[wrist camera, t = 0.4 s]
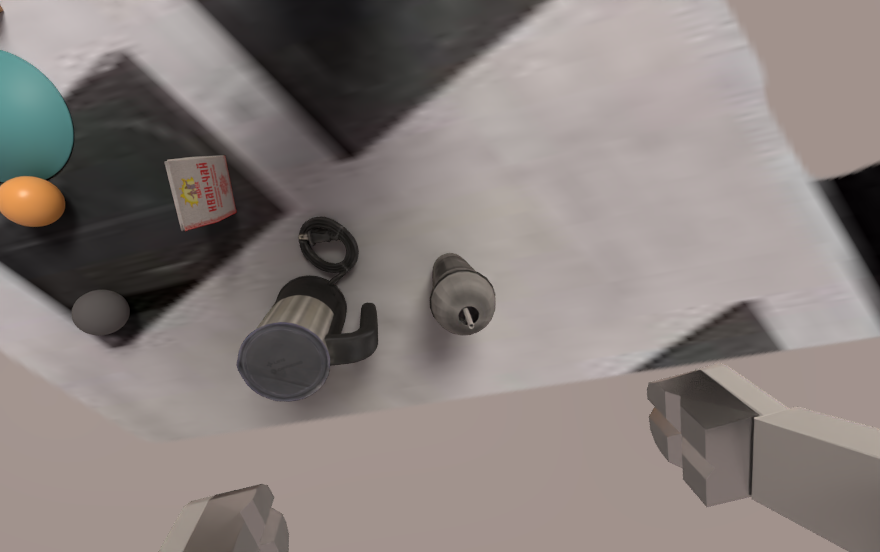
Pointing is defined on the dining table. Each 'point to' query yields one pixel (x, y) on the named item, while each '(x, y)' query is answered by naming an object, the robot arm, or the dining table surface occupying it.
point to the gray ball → (100, 312)
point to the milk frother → (307, 326)
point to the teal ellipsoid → (31, 122)
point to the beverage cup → (460, 296)
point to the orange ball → (31, 201)
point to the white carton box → (200, 190)
